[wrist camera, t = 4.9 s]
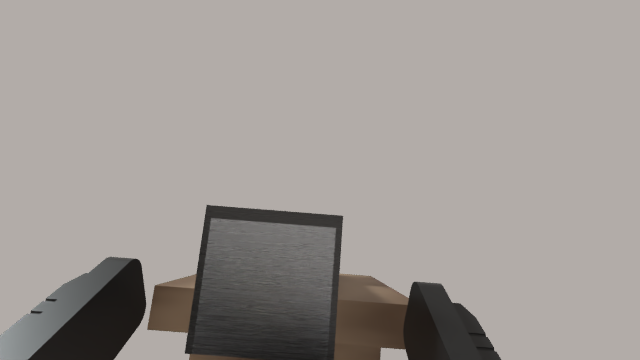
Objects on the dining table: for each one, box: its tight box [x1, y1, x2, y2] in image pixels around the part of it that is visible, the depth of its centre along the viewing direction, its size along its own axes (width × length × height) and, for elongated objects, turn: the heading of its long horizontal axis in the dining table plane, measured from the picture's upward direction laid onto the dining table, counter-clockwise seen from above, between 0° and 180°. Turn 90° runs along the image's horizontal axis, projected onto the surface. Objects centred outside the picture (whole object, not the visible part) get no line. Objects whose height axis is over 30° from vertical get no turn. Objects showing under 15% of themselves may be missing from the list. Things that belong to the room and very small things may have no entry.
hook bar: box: [185, 205, 343, 360], centre depth 18 cm, size 5×21×4 cm, turn 1°
